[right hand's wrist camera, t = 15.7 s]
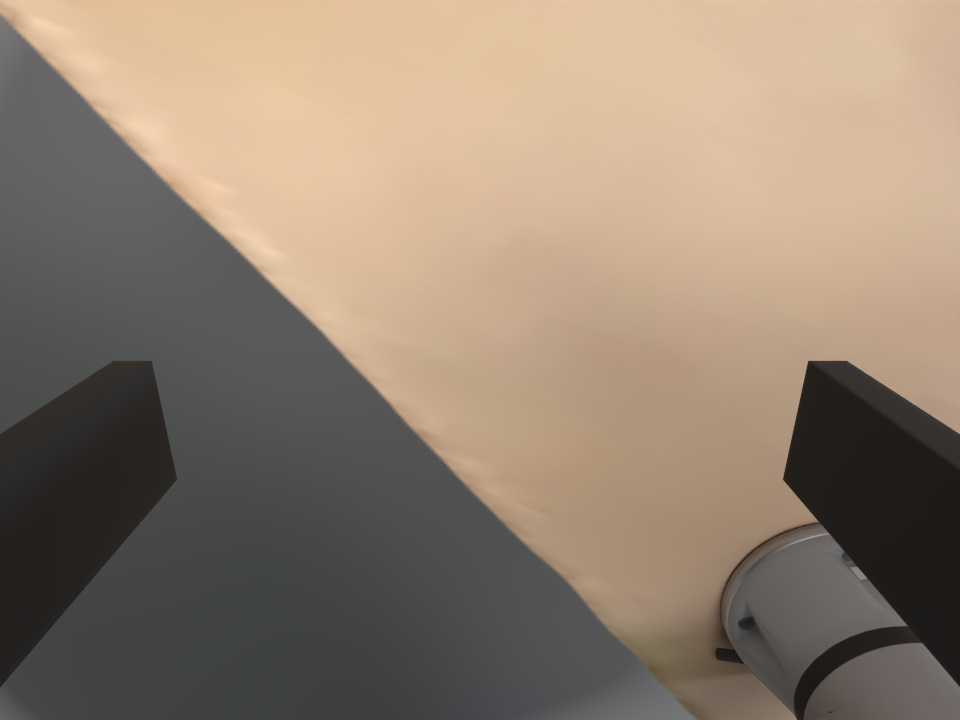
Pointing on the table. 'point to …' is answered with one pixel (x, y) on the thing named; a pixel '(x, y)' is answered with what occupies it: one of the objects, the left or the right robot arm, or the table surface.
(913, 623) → the right robot arm
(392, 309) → the table surface
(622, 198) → the table surface
